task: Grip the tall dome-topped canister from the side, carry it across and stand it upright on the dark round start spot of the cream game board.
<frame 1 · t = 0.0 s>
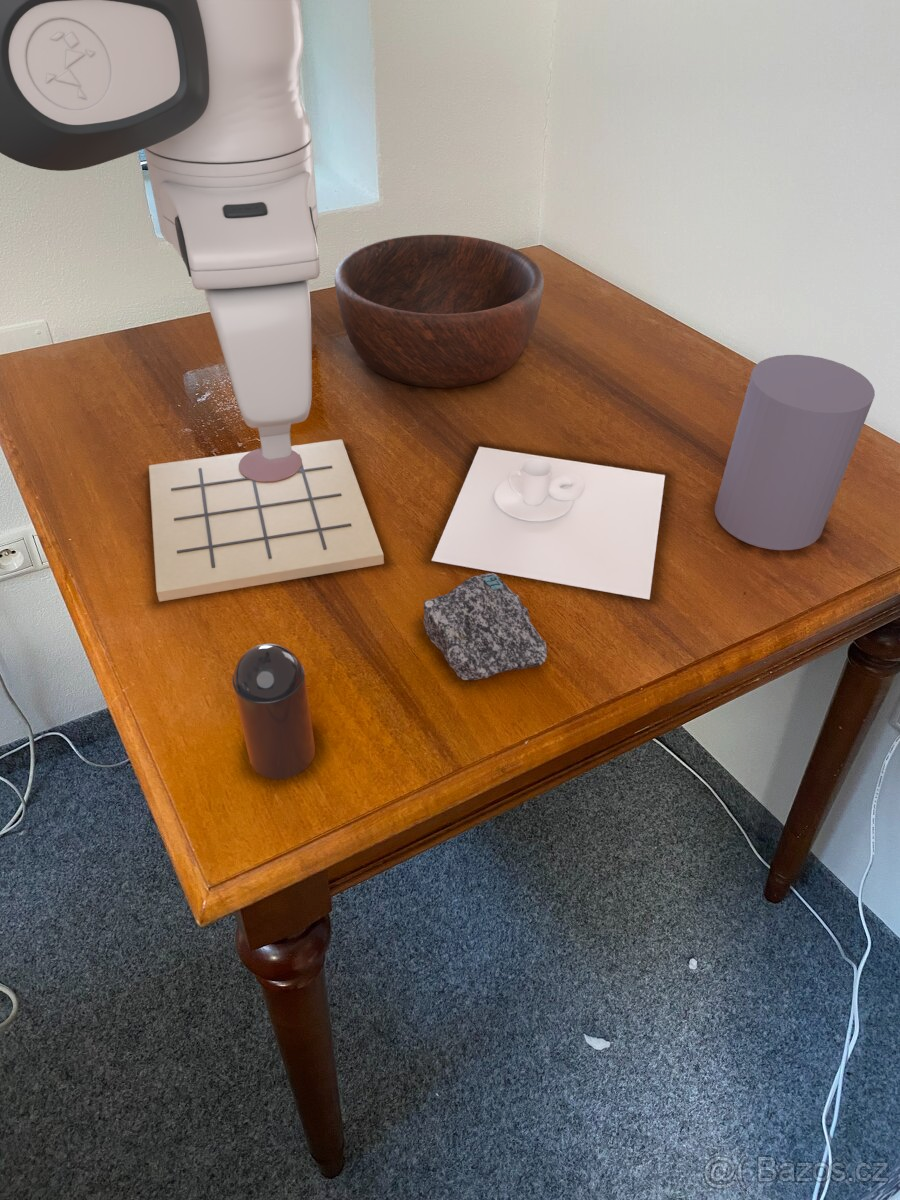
hand: (266, 414, 58), 22 cm above the table, tool pointing down, fingers open, 8 cm apart
rock: (486, 644, 73), on the table
dome-topped canister: (282, 752, 64), on the table
board: (260, 517, 85), on the table
teacup and saucer: (555, 516, 86), on the table
wooden bowl: (438, 353, 111), on the table
container: (766, 521, 86), on the table
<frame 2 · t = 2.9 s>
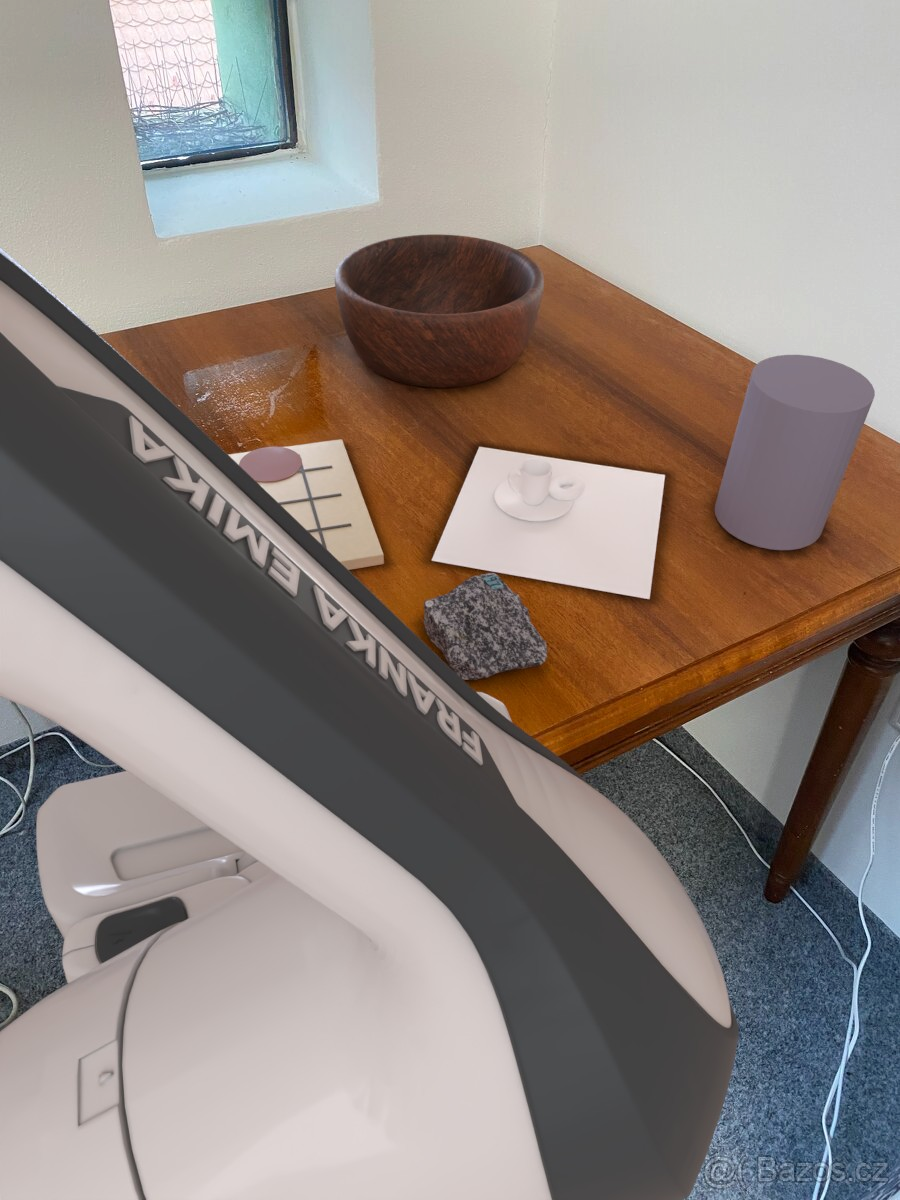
hand: (269, 684, 43), 20 cm above the table, tool horizontal, fingers open, 8 cm apart
nothing on the table moved.
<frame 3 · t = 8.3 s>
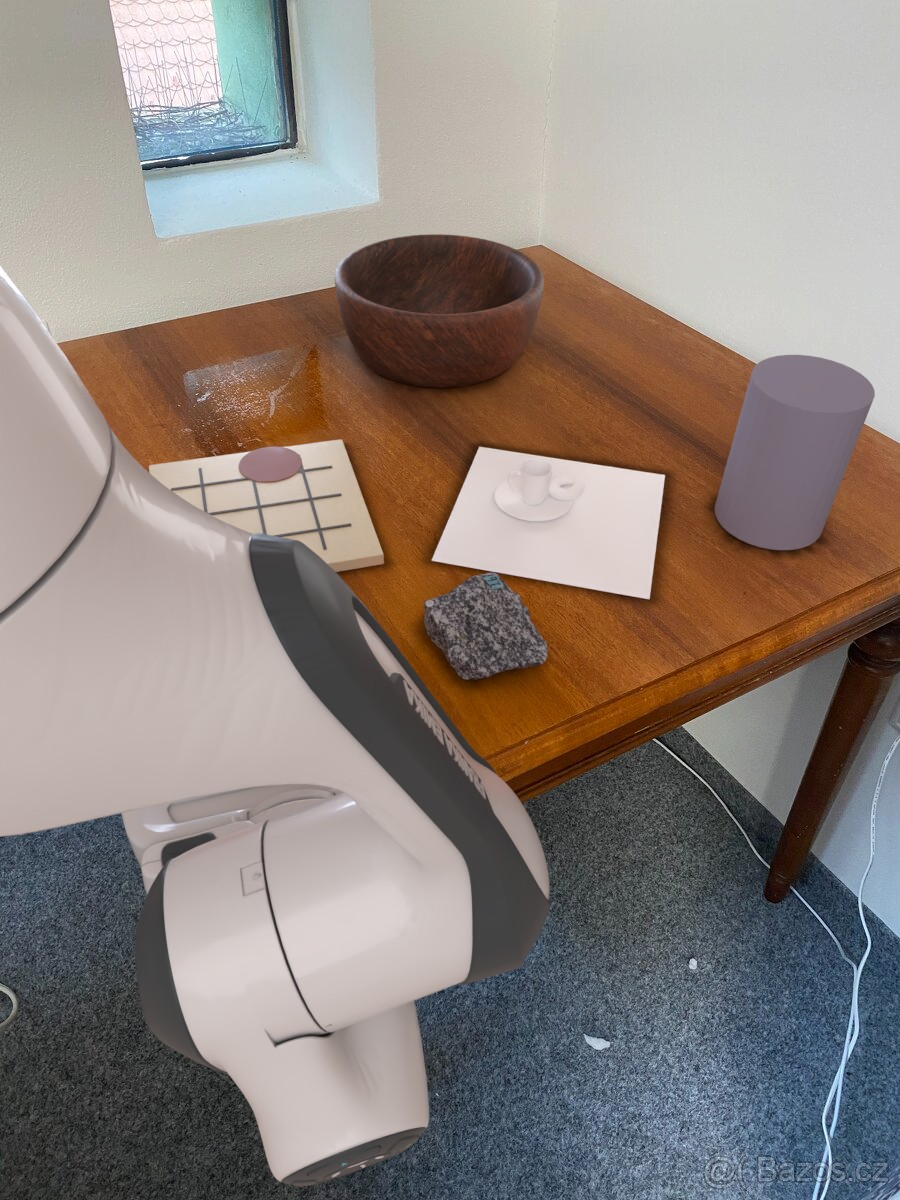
hand: (271, 695, 61), 5 cm above the table, tool horizontal, fingers closed on dome-topped canister, 5 cm apart
dome-topped canister: (282, 752, 64), on the table, touching gripper
everything else where it was.
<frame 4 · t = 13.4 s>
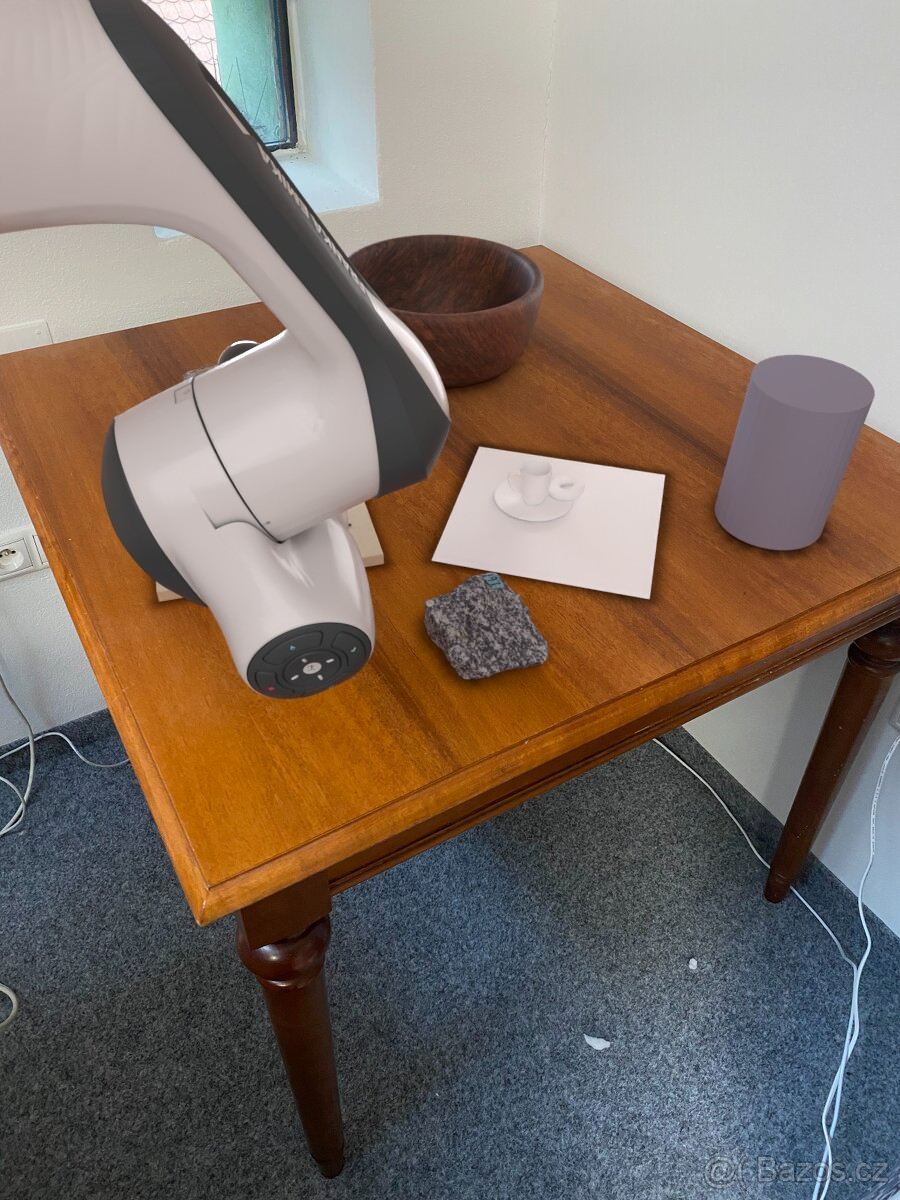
hand: (251, 399, 68), 17 cm above the table, tool horizontal, fingers closed on dome-topped canister, 5 cm apart
dome-topped canister: (262, 464, 71), point 12 cm above the table, touching gripper
everything else where it was.
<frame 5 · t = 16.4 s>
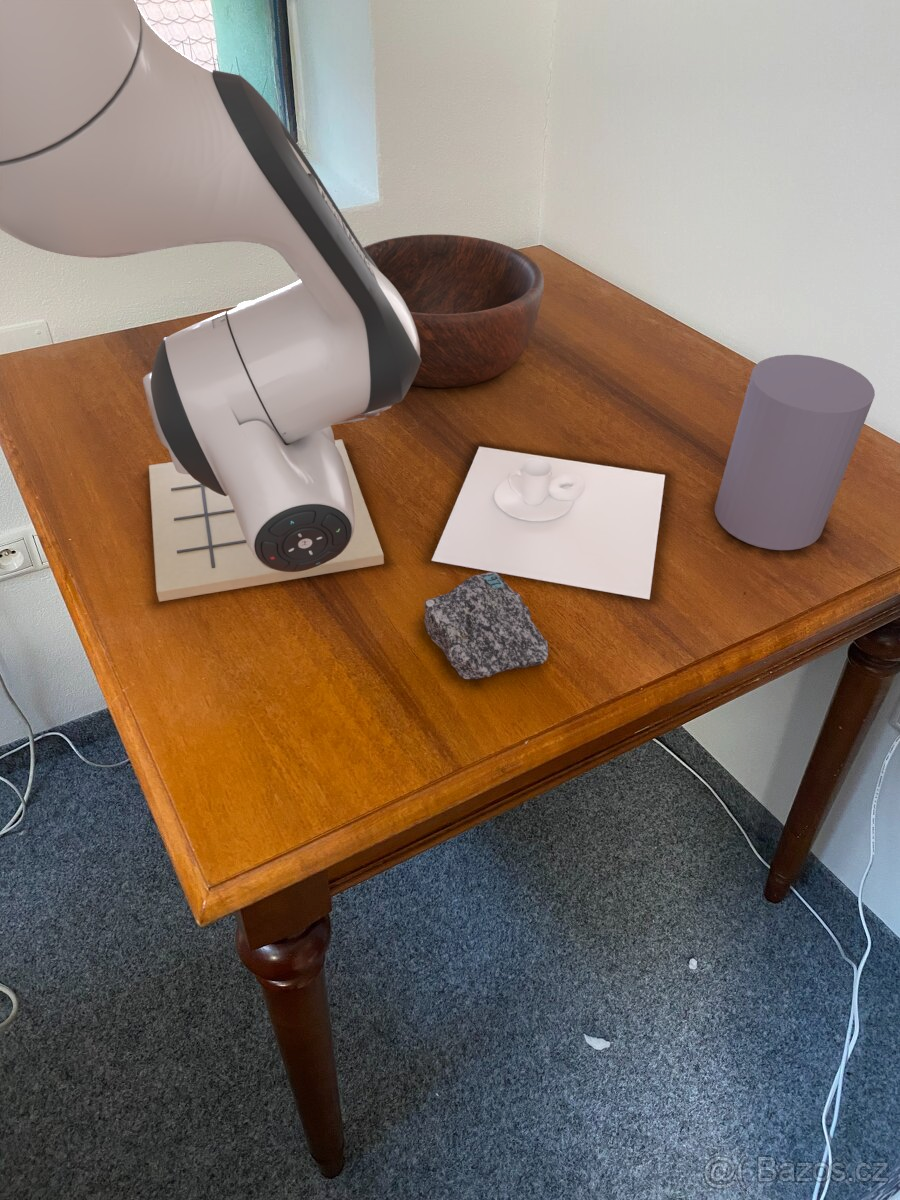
hand: (255, 351, 82), 13 cm above the table, tool horizontal, fingers closed on dome-topped canister, 5 cm apart
dome-topped canister: (264, 407, 85), point 8 cm above the table, touching gripper
everything else where it was.
when the fingers open (7 cm above the table, at t = 18.7 s): dome-topped canister stays where it is, resting on board.
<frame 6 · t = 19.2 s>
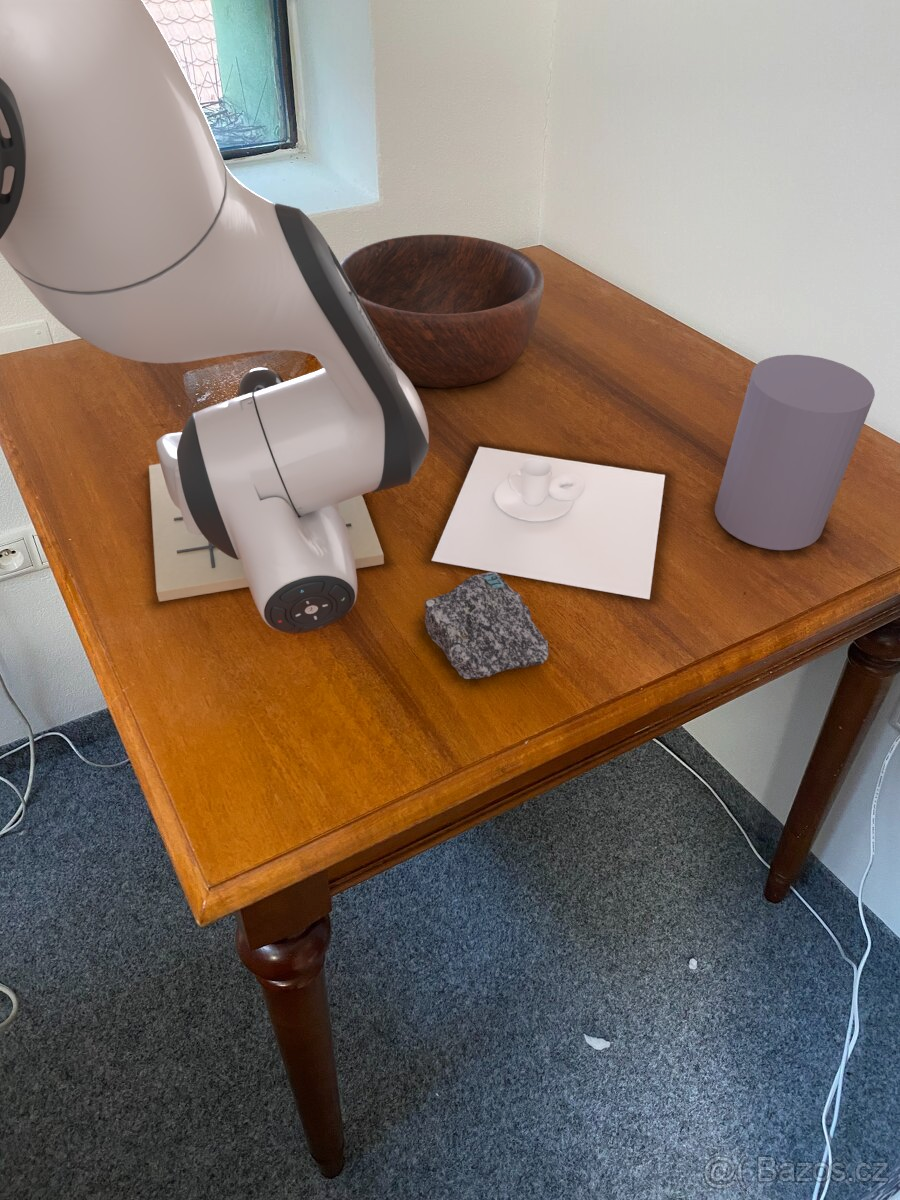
hand: (261, 411, 86), 7 cm above the table, tool horizontal, fingers open, 8 cm apart
dome-topped canister: (272, 463, 90), point 1 cm above the table, touching board
everything else where it was.
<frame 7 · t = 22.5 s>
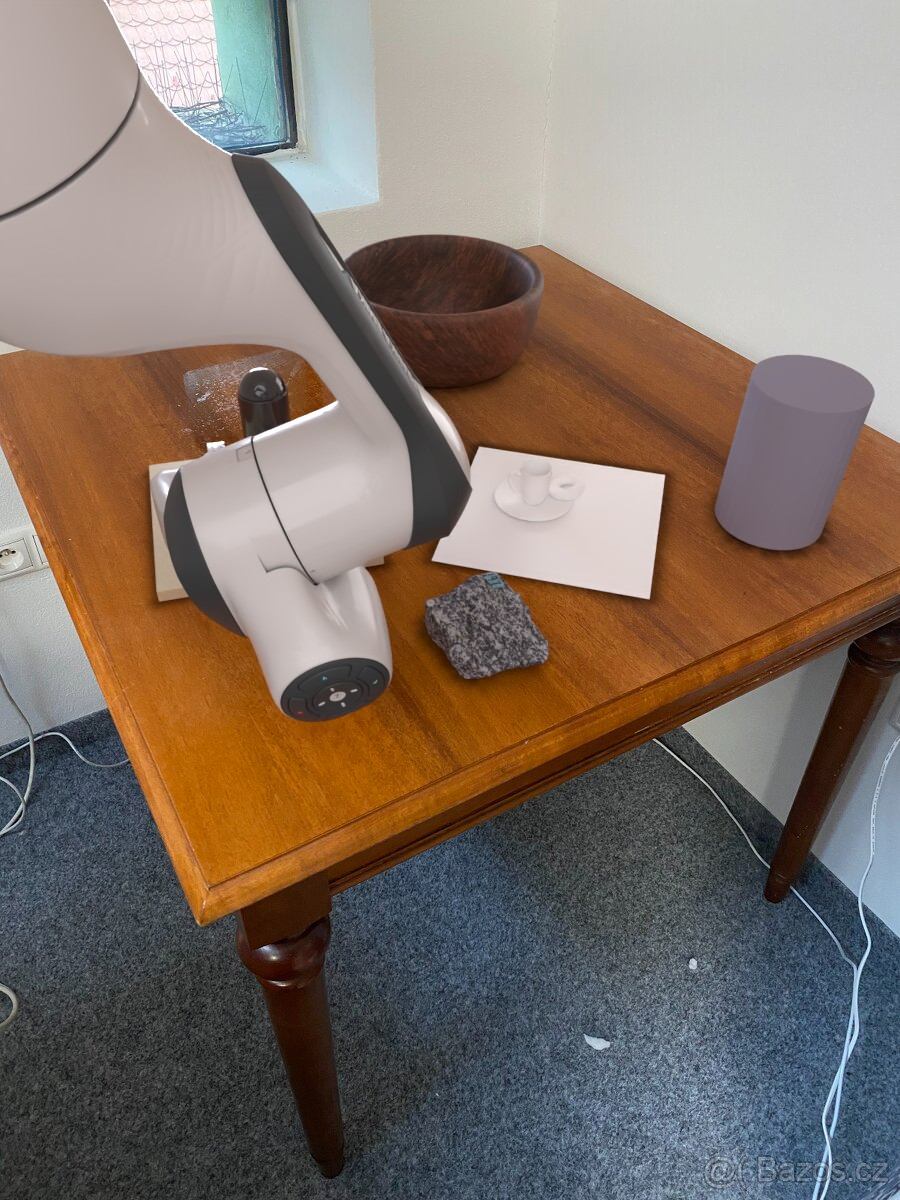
hand: (272, 441, 75), 11 cm above the table, tool horizontal, fingers open, 8 cm apart
nothing on the table moved.
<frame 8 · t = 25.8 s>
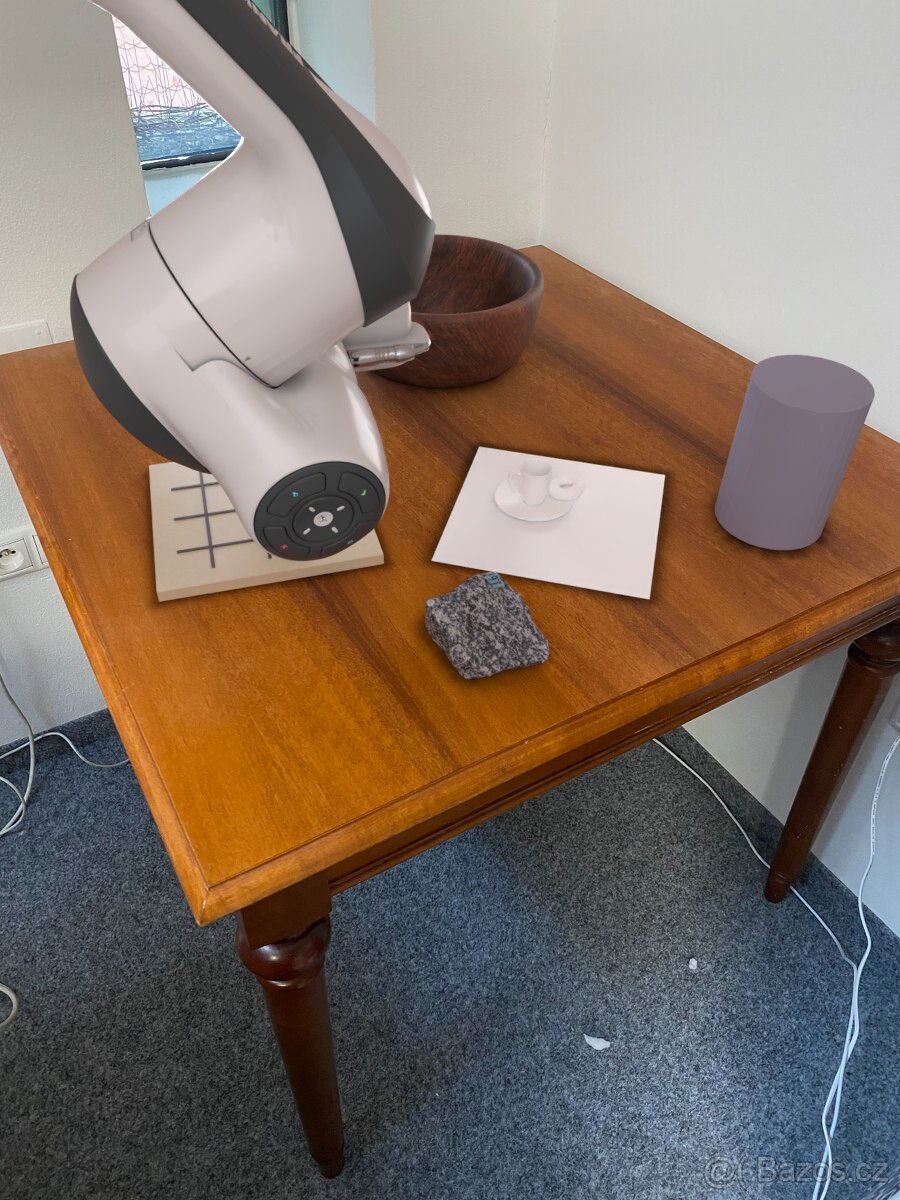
hand: (253, 284, 65), 25 cm above the table, tool horizontal, fingers open, 8 cm apart
nothing on the table moved.
at the end: dome-topped canister 0.2 cm from the target spot on the board, point 1.3 cm above the board's base; dome-topped canister tilted 0°; the gripper is holding nothing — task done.
